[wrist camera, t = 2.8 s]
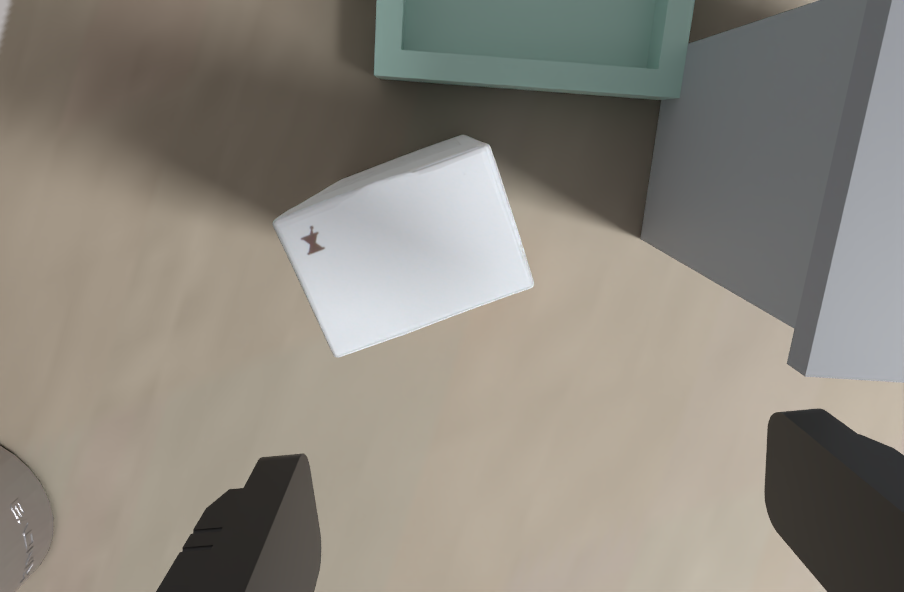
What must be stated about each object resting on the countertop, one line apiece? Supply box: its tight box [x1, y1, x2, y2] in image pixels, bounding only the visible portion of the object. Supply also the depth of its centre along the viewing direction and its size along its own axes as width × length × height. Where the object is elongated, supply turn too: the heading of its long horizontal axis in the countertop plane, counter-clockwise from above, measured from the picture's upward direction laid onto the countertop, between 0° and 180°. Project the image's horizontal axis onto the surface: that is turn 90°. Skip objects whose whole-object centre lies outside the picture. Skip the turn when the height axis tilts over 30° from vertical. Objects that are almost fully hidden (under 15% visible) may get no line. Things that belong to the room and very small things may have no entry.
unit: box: [640, 0, 904, 382], centre depth 21 cm, size 11×9×15 cm
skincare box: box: [273, 135, 534, 357], centre depth 22 cm, size 6×4×12 cm
